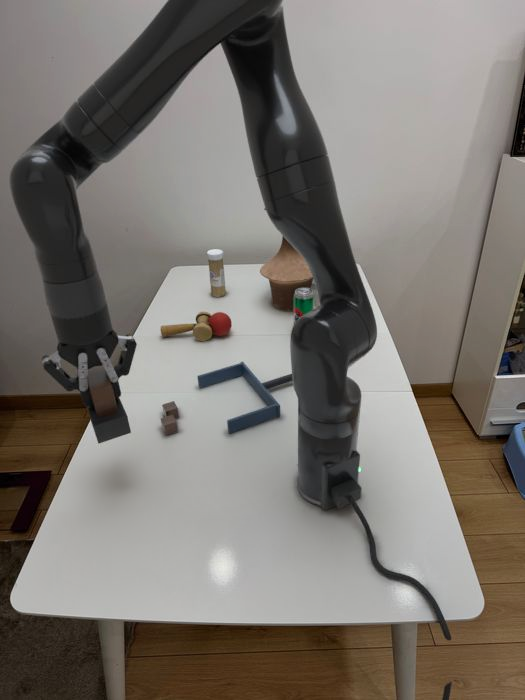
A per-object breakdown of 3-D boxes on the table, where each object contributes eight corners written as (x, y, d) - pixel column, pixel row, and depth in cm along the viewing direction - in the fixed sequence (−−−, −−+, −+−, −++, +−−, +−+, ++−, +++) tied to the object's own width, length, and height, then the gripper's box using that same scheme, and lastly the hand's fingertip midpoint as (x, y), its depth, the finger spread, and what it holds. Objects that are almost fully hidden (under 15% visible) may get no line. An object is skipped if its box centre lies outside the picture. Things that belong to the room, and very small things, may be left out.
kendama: (162, 350, 122) (232, 338, 121) (155, 326, 120) (227, 314, 118) (168, 339, 129) (234, 328, 128) (162, 317, 127) (229, 305, 126)
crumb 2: (178, 431, 94) (176, 421, 93) (165, 435, 93) (163, 425, 92) (174, 424, 96) (172, 414, 95) (162, 428, 95) (160, 418, 94)
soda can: (312, 339, 121) (313, 296, 115) (292, 338, 122) (291, 295, 116) (314, 329, 125) (315, 287, 119) (295, 328, 126) (295, 286, 120)
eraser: (131, 432, 75) (120, 388, 71) (98, 443, 73) (85, 399, 69) (116, 398, 83) (106, 356, 78) (86, 407, 81) (74, 364, 76)
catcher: (315, 404, 99) (315, 393, 98) (229, 434, 93) (228, 422, 91) (274, 362, 113) (274, 351, 111) (198, 386, 106) (196, 375, 105)
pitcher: (327, 292, 143) (331, 196, 129) (316, 319, 130) (318, 215, 115) (270, 287, 148) (267, 194, 133) (253, 313, 134) (248, 212, 119)
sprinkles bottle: (208, 295, 145) (203, 253, 138) (216, 289, 148) (212, 247, 141) (221, 298, 143) (217, 255, 136) (229, 292, 146) (225, 249, 139)
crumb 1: (179, 417, 98) (177, 407, 96) (167, 421, 97) (165, 411, 95) (175, 410, 100) (173, 400, 98) (163, 414, 99) (161, 404, 97)
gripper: (25, 328, 61) (60, 431, 71) (135, 302, 67) (154, 401, 76) (20, 304, 67) (53, 402, 76) (122, 282, 72) (141, 377, 82)
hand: (103, 401), depth 76 cm, fingers closed on eraser, 3 cm apart
